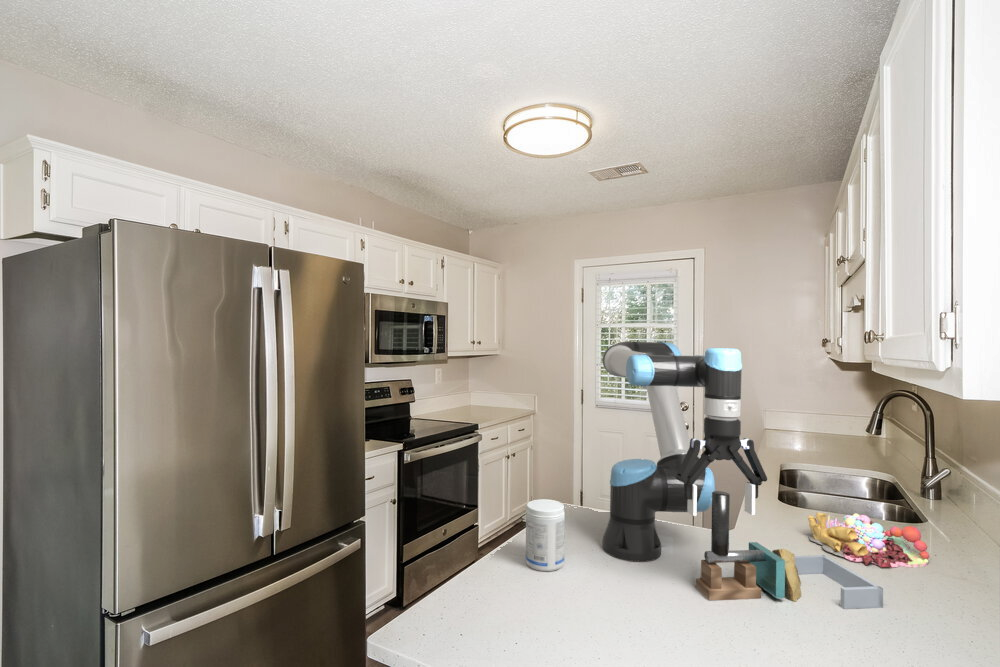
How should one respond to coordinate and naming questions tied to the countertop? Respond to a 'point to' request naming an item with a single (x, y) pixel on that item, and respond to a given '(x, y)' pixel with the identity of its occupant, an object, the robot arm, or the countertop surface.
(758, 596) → the rod stand
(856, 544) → the colorful coral reef
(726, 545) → the lever handle
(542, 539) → the supplement tub
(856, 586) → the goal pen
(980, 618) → the countertop surface
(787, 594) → the rock
